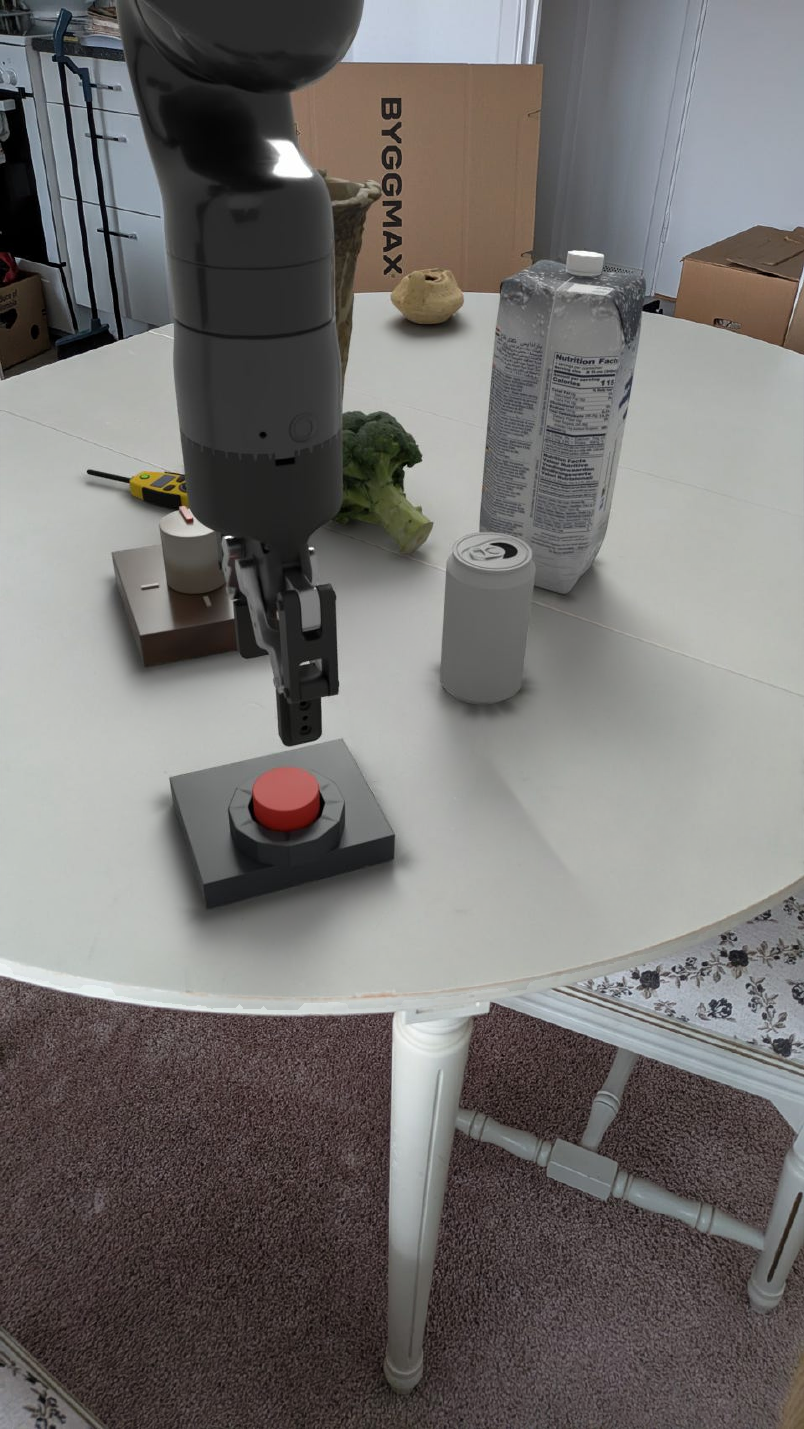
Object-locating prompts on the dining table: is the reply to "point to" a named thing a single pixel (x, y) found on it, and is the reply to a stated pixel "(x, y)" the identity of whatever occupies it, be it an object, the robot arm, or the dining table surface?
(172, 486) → the yellow walkie talkie
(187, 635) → the panel
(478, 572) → the beverage can
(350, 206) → the vase
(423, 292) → the oil lamp
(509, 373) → the juice carton
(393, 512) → the vegetable
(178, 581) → the knob
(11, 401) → the dining table surface
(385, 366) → the dining table surface
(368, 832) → the button block
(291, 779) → the button
